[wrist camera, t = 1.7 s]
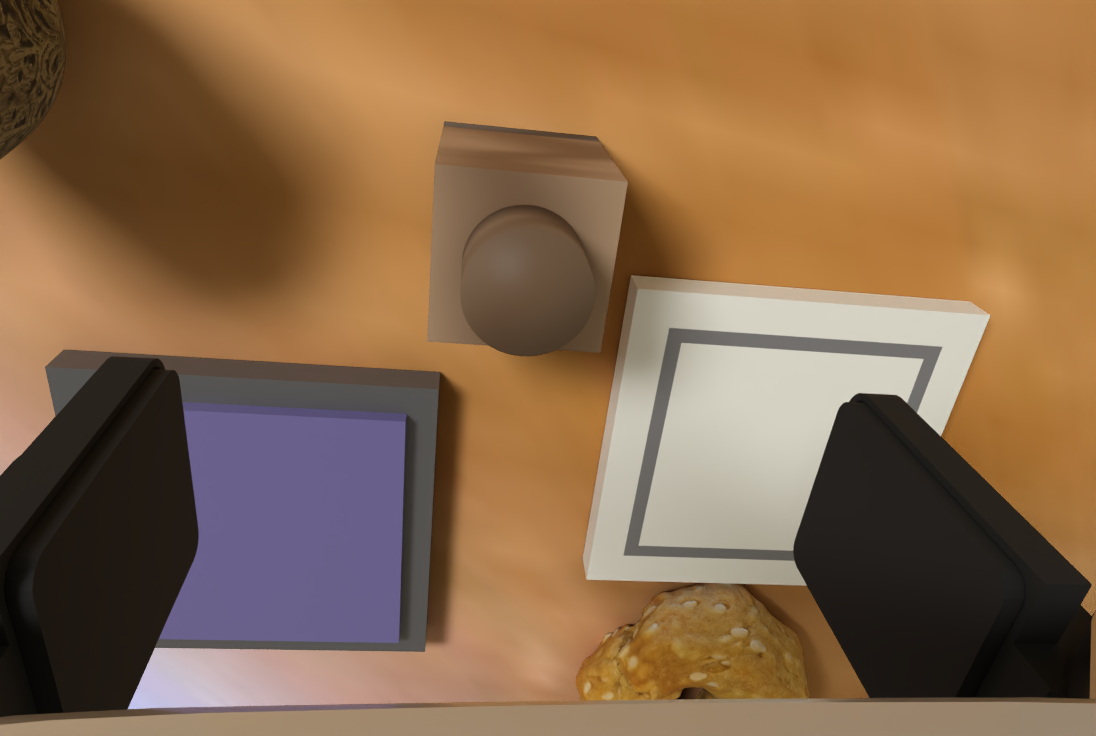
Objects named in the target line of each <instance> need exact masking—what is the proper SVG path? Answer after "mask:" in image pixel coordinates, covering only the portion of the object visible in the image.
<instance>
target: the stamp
mask: <svg viewBox="0 0 1096 736" xmlns="http://www.w3.org/2000/svg"><path fill="white" fill-rule="evenodd" d="M627 185H628V181H627V180H626V178H625V177H624V176H623V174H622V173H621V171H620V170H619V168H618V167H617V166H616V164H615V163H614V161H613V160H612V158H611V157H610V156H609V154H608V153H607V151H606V150H605V148H604V147H603V146H602V144H601V143H600V141H599V140H598V138H597V137H595V136H585V135H575V134H565V133H555V132H545V131H535V130H525V129H515V128H505V127H495V126H485V125H475V124H466V123H456V122H446V121H445V122H444V127H443V131H442V135H441V140H440V144H439V149H438V153H437V157H436V162H435V176H434V199H433V222H432V245H431V268H430V291H429V315H428V338H427V341H428V342H443V343H459V344H474V345H489V346H491V347H492V348H494V349H496V350H498V351H501V352H504V353H507V354H511V355H517V356H536V355H542V354H546V353H549V352H552V351H555V350H566V351H581V352H596V353H601V348H602V341H603V335H604V329H605V323H606V316H607V310H608V304H609V297H610V291H611V285H612V279H613V272H614V266H615V260H616V254H617V247H618V241H619V235H620V229H621V222H622V216H623V210H624V204H625V197H626V191H627Z"/></svg>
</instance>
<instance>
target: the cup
mask: <svg viewBox="0 0 1096 736" xmlns="http://www.w3.org/2000/svg"><path fill="white" fill-rule="evenodd" d="M65 59H66V39H65V29H64V24H63V19H62V14H61V11H60V7H59V4H58V1H57V0H0V159H1V158H2V157H4V156H5V155H6V154H8V153H9V152H10V151H11V150H13V149H14V148H15V147H16V146H17V145H19V144H20V143H21V142H22V141H23V140H24V139H26V138H27V137H28V136H29V135H30V134H31V133H32V132H33V130H34V129H35V128H36V127H37V126H38V125H39V124H40V123H41V121H42V120H43V118H44V117H45V115H46V114H47V112H48V111H49V109H50V108H51V106H52V105H53V103H54V101H55V99H56V96H57V94H58V92H59V89H60V86H61V82H62V79H63V74H64V67H65Z"/></svg>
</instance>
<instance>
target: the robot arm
mask: <svg viewBox="0 0 1096 736" xmlns="http://www.w3.org/2000/svg"><path fill="white" fill-rule="evenodd" d="M198 540H199V530H198V521H197V513H196V506H195V498H194V490H193V482H192V474H191V466H190V458H189V450H188V442H187V434H186V426H185V419H184V411H183V403H182V395H181V387H180V380H179V376H178V374H177V372H176V371H175V370H165V367H164V365H163V363H162V361H161V360H160V359H158V358H138V357H118V356H111V357H109V358H108V359H107V360H106V361H105V362H104V363H103V364H102V365H101V366H100V367H99V369H98V370H97V371H96V372H95V373H94V374H93V375H92V376H91V378H90V379H89V380H88V381H87V382H86V383H85V384H84V385H83V386H82V388H81V389H80V390H79V391H78V392H77V393H76V394H75V395H74V397H73V398H72V399H71V400H70V401H69V402H68V403H67V404H66V406H65V407H64V408H63V409H62V410H61V411H60V412H59V413H58V414H57V416H56V417H55V418H54V419H53V420H52V421H51V422H50V423H49V425H48V426H47V427H46V428H45V429H44V430H43V431H42V432H41V434H40V435H39V436H38V437H37V438H36V439H35V440H34V441H33V442H32V444H31V445H30V446H29V447H28V448H27V449H26V450H25V451H24V453H23V454H22V455H21V456H19V457H18V458H17V459H16V460H14V461H13V462H12V464H11V465H10V466H9V467H8V468H7V469H6V470H5V471H4V472H3V474H2V475H1V476H0V736H1096V611H1095V612H1094V613H1093V615H1092V616H1091V615H1090V614H1089V613H1088V612H1087V611H1086V610H1085V609H1084V608H1083V607H1082V606H1081V605H1080V604H1081V603H1082V601H1083V599H1084V598H1085V596H1086V594H1087V592H1088V591H1089V589H1090V587H1091V585H1092V584H1091V583H1090V582H1089V581H1088V580H1087V579H1086V578H1085V577H1084V576H1083V575H1082V574H1081V573H1080V572H1079V571H1077V570H1076V569H1075V568H1074V567H1073V566H1072V565H1071V564H1070V563H1069V562H1068V561H1067V560H1066V559H1065V558H1064V557H1063V556H1062V555H1061V554H1060V553H1059V552H1058V551H1057V550H1056V549H1055V548H1054V547H1053V546H1052V545H1051V544H1050V543H1049V542H1048V541H1047V540H1046V539H1045V538H1044V537H1043V536H1042V535H1041V534H1040V533H1039V532H1038V531H1037V530H1036V529H1035V528H1034V527H1033V526H1032V525H1031V524H1030V523H1029V522H1028V521H1027V520H1025V519H1024V518H1023V517H1022V516H1021V515H1020V514H1019V513H1018V512H1017V511H1016V510H1015V509H1014V508H1013V507H1012V506H1011V505H1010V504H1009V503H1008V502H1007V501H1006V500H1005V499H1004V498H1003V497H1002V496H1001V495H1000V494H999V493H998V492H997V491H996V490H995V489H994V488H993V487H992V486H991V485H990V484H989V483H988V482H987V481H986V480H985V479H984V478H983V477H982V476H981V475H980V474H979V473H978V472H977V471H976V470H975V469H973V468H972V467H971V466H970V465H969V464H968V463H967V462H966V461H965V460H964V459H963V458H962V457H961V456H960V455H959V454H958V453H957V452H956V451H955V450H954V449H953V448H952V447H951V446H950V445H949V444H948V443H947V442H946V441H945V440H944V439H943V438H942V437H941V436H940V435H939V434H938V433H937V432H936V431H935V430H934V429H933V428H932V427H931V426H930V425H929V424H928V423H927V422H926V421H925V420H924V419H922V418H921V417H920V416H919V415H918V414H917V413H916V412H915V411H914V410H913V409H912V408H911V407H910V406H909V405H908V404H907V403H906V402H905V401H904V400H903V399H902V398H901V397H899V396H898V395H889V394H869V393H858V394H856V395H854V396H853V397H852V398H851V400H850V401H849V402H845V403H843V404H842V405H841V406H840V407H839V410H838V412H837V415H836V418H835V421H834V424H833V427H832V430H831V433H830V436H829V439H828V442H827V445H826V448H825V451H824V454H823V457H822V460H821V463H820V466H819V469H818V472H817V475H816V478H815V481H814V484H813V487H812V490H811V493H810V496H809V499H808V502H807V505H806V508H805V511H804V514H803V517H802V520H801V523H800V526H799V529H798V532H797V535H796V538H795V541H794V547H793V554H794V560H795V564H796V566H797V569H798V570H799V572H800V574H801V576H802V577H803V579H804V581H805V583H806V585H807V586H808V588H809V590H810V592H811V594H812V595H813V597H814V599H815V601H816V603H817V604H818V606H819V608H820V610H821V611H822V613H823V615H824V617H825V619H826V620H827V622H828V624H829V626H830V628H831V629H832V631H833V633H834V635H835V636H836V638H837V640H838V642H839V644H840V645H841V647H842V649H843V651H844V653H845V654H846V656H847V658H848V660H849V661H850V663H851V665H852V667H853V669H854V670H855V672H856V674H857V676H858V678H859V679H860V681H861V683H862V685H863V687H864V688H865V690H866V692H867V694H868V695H869V697H870V698H784V699H678V700H592V701H515V702H453V703H397V704H340V705H284V706H233V707H185V708H147V709H128V707H129V704H130V702H131V700H132V698H133V695H134V693H135V691H136V689H137V686H138V684H139V682H140V680H141V677H142V675H143V673H144V671H145V669H146V666H147V664H148V662H149V660H150V657H151V655H152V653H153V651H154V648H155V646H156V644H157V642H158V639H159V637H160V635H161V633H162V630H163V628H164V626H165V624H166V621H167V619H168V617H169V615H170V612H171V610H172V608H173V606H174V603H175V601H176V599H177V597H178V595H179V592H180V590H181V588H182V586H183V583H184V581H185V579H186V577H187V574H188V572H189V570H190V568H191V565H192V563H193V561H194V558H195V556H196V552H197V548H198ZM127 709H128V710H127Z"/></svg>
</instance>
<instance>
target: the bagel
mask: <svg viewBox="0 0 1096 736" xmlns="http://www.w3.org/2000/svg"><path fill="white" fill-rule="evenodd" d="M803 654H804V652H803V650H802V647H801V643H800V641H799V639H798V637H797V635H796V634H795V632H794V631H793V630H792V629H791V628H790V627H788V626H787V625H785V624H783V623H781V622H780V621H779V620H777V619H776V618H775V617H773V616H772V615H771V614H770V613H769V611H767V609H766V608H765V607H764V605H763V603H761V602H760V601H758V600H757V599H756V598H755V597H753V596H752V595H751V594H750V593H749V591H748V590H747V589H746V588H745V587H744V586H742V585H741V584H731V583H700V584H697V585H693V586H690V587H685V588H680V589H677V590H675V591H672V592H662V593H660V594H658V595H656V596H655V597H653V598H652V601H651V603H650V604H649V605H648V606H646V607H645V608H644V610H643V617H642V618H641V620H640V621H638V622H637V623H636V624H635V625H634V626H630V625H625V626H623V627H622V628H617V629H616V630H615V631H614V632H611V633H607V634H606V635H605V636H604V638H603V641H602V643H601V644H600V646H599V647H598V649H597V650H596V651H595V652H594V653H593V654H592V656H590V657H587V658H586V659H585V660H584V662H583V664H582V666H581V668H580V671H579V673H578V674H577V677H576V686H577V689H578V692H579V695H580V701H592V700H676V699H677V698H678V697H679V696H680V695H681V692H682V690H683V689H684V688H688V687H697V688H700V687H702V688H703V690H702V691H701V692H700V694H699V695H698V697H697V699H784V698H810V696H809V690H808V687H807V678H806V675H805V670H804V661H803Z"/></svg>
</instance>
